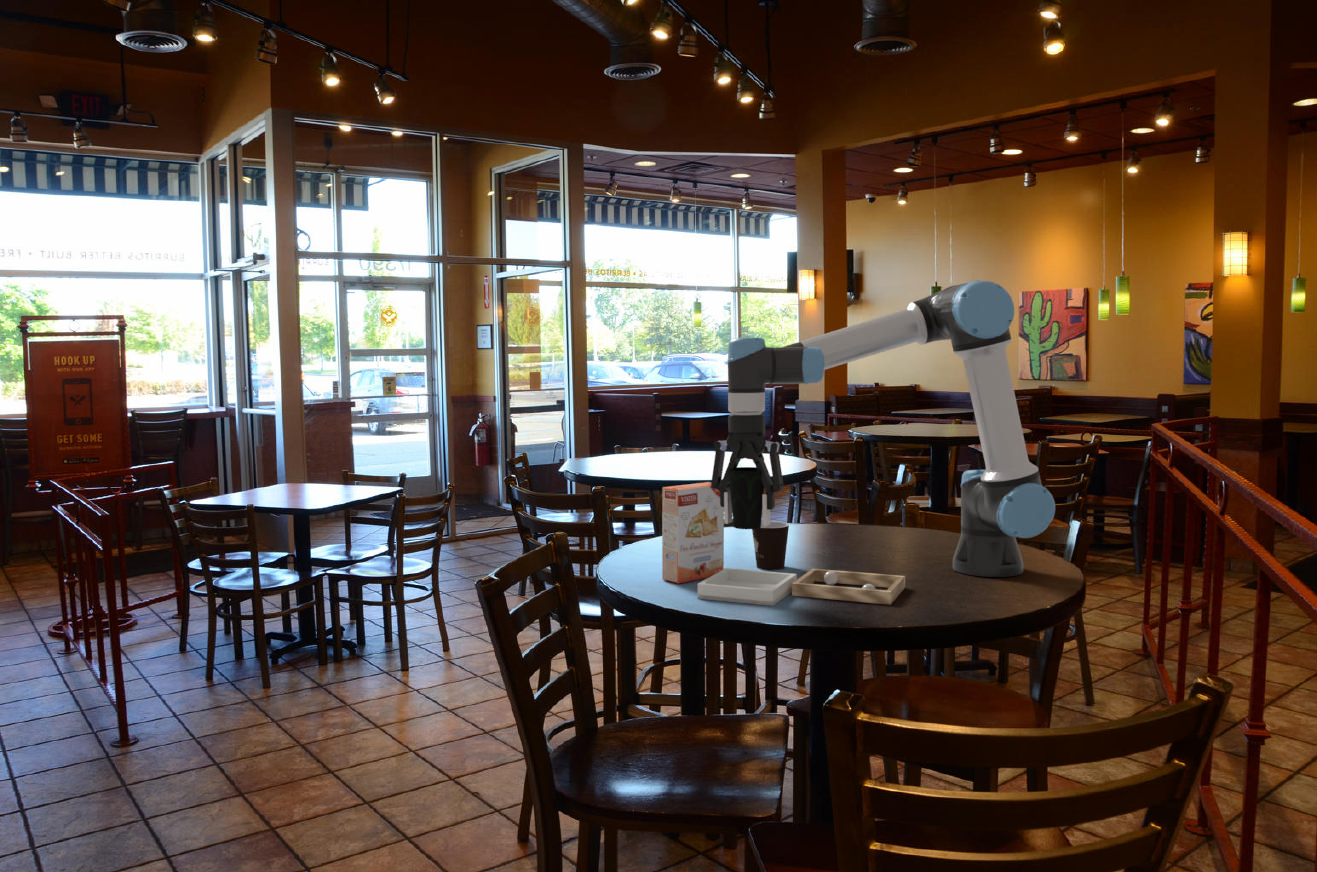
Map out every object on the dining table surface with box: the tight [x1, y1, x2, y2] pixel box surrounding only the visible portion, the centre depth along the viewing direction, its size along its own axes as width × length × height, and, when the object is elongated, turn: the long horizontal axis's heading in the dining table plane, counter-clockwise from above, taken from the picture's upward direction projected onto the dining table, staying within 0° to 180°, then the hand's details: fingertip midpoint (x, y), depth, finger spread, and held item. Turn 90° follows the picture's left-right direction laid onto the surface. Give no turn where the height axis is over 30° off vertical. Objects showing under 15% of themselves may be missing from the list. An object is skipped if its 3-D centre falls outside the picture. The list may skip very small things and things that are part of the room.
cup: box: [728, 466, 765, 530], centre depth 196 cm, size 8×8×12 cm
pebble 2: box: [861, 584, 877, 590], centre depth 191 cm, size 3×3×3 cm
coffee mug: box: [751, 521, 790, 571], centre depth 223 cm, size 12×9×10 cm
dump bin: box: [697, 567, 798, 607], centre depth 197 cm, size 16×16×3 cm
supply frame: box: [791, 568, 906, 606], centre depth 197 cm, size 20×15×2 cm
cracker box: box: [661, 481, 725, 584], centre depth 212 cm, size 14×6×21 cm, turn 130°
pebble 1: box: [824, 571, 838, 586], centre depth 203 cm, size 3×3×3 cm
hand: (747, 523), depth 196 cm, fingers closed on cup, 8 cm apart
